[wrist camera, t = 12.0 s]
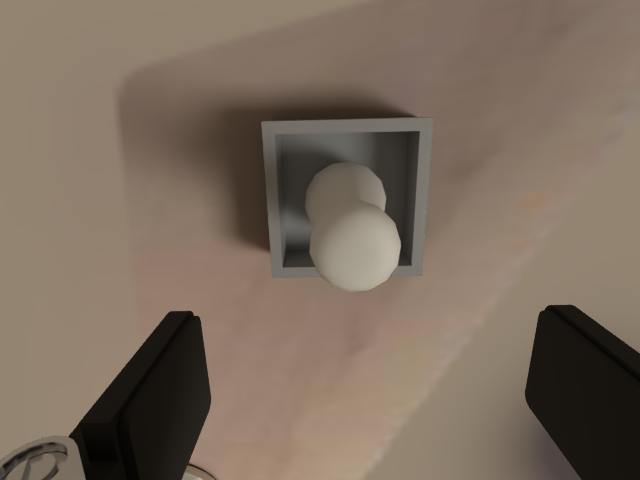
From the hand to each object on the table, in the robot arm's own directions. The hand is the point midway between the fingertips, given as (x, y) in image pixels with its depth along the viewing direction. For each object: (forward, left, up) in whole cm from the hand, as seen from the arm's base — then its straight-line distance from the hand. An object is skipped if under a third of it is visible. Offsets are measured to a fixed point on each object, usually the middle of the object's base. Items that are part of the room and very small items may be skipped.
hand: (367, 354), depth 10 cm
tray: (0, 0, -21) cm, 21 cm away
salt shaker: (0, 0, -20) cm, 20 cm away
